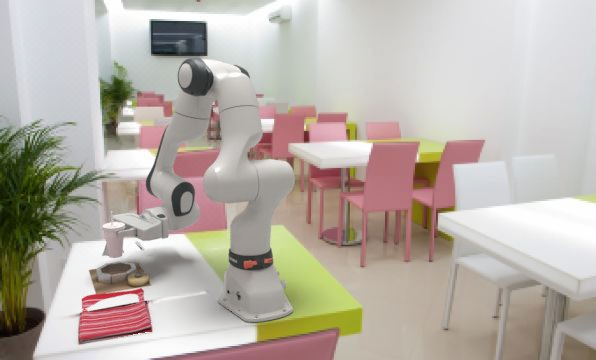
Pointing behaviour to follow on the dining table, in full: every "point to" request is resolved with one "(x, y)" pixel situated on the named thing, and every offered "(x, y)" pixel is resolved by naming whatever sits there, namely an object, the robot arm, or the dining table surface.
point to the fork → (140, 245)
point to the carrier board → (133, 282)
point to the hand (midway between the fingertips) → (111, 231)
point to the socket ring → (113, 267)
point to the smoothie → (113, 238)
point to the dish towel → (113, 318)
